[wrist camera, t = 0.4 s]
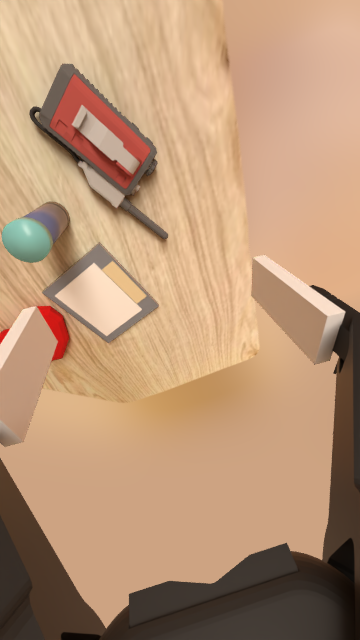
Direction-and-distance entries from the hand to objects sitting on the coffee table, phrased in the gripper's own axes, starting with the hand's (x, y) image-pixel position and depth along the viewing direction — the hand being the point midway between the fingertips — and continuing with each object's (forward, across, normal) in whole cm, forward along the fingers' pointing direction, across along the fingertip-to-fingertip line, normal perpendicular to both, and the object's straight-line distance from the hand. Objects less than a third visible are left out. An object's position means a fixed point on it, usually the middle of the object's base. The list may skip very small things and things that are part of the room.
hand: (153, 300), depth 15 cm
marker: (+24, -10, +2) cm, 26 cm away
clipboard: (+24, -8, -11) cm, 28 cm away
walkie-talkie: (+25, 0, +6) cm, 25 cm away
